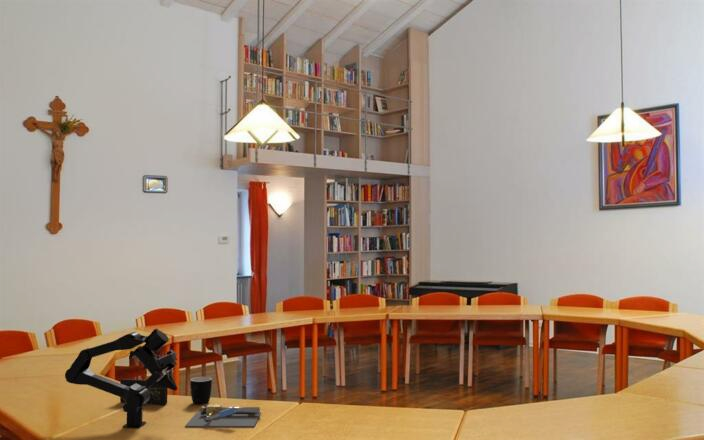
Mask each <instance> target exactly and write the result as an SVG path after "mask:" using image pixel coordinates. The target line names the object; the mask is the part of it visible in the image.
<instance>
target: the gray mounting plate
mask: <svg viewBox="0 0 704 440" xmlns="http://www.w3.org/2000/svg"><path fill="white" fill-rule="evenodd" d="M261 415H262V412H261V411H260V414H255V416H254V417H248V414H233V415H232V417H222V418H220V417H217V418H213V419H210V421H209V422H205V420H204V419H205V417H206V414H204V415H201V414H200V411H197V412H195V413H194V415H193V416H192V417H191V418H190V419H189V420H188V422H187V423H186V424H185V425H184V428H230V429H231V428H238V429H239V428H244V429H245V428H246V429H247V428H250V429H251V428H255V427H256V425H257V423H258V421H259V419H260V417H261Z"/></svg>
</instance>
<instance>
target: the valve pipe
mask: <svg viewBox="0 0 704 440" xmlns="http://www.w3.org/2000/svg"><path fill="white" fill-rule="evenodd" d="M232 407H233V406H222V403H220V404H219V403H218V404H217V403H216V404H215V403H214V404H213V403H211V404H208V403H207V406H203V405H202V406H201V405H200V410H199V412H200V414H201V415H204V414H206V416H213V415H216V414H219V412H220V411H223V410H226V409H229V408H232ZM234 407H235V409H236V413H234V414H248V417H254V416H255V414H260V412H261V408H260V406H234ZM232 415H233V414H231V415H228V416H225V417H232Z"/></svg>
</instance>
